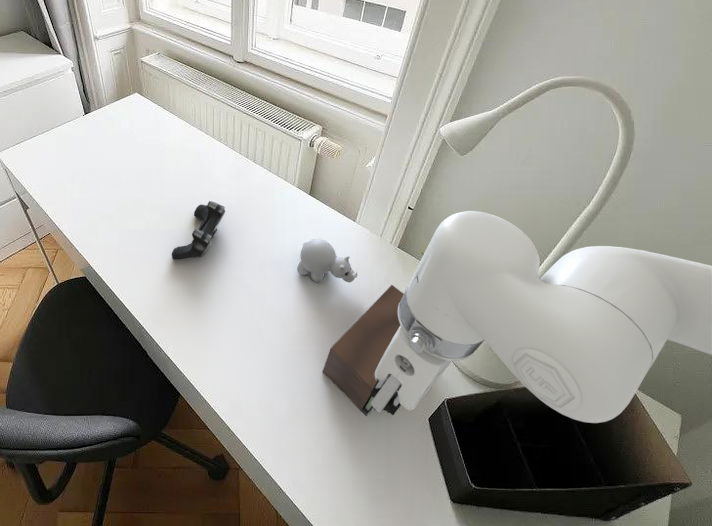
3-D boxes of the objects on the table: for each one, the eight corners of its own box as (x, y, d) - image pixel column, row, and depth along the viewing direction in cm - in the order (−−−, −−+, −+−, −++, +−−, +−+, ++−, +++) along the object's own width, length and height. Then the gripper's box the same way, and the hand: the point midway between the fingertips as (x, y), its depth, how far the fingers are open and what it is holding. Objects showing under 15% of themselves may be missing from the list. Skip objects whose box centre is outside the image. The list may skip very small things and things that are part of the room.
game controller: (193, 275, 91) (211, 257, 84) (167, 258, 90) (183, 239, 83) (218, 222, 102) (236, 202, 95) (195, 207, 102) (212, 186, 95)
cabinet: (423, 344, 75) (439, 320, 69) (366, 416, 66) (379, 394, 61) (380, 310, 81) (391, 284, 75) (322, 371, 72) (330, 348, 66)
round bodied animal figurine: (345, 303, 82) (353, 279, 76) (291, 273, 87) (296, 249, 82) (358, 277, 86) (367, 253, 81) (306, 250, 92) (311, 226, 86)
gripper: (435, 409, 34) (382, 469, 46) (517, 292, 42) (454, 368, 54) (358, 341, 39) (328, 411, 50) (445, 247, 47) (402, 326, 58)
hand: (394, 388), depth 52 cm, fingers open, 4 cm apart
